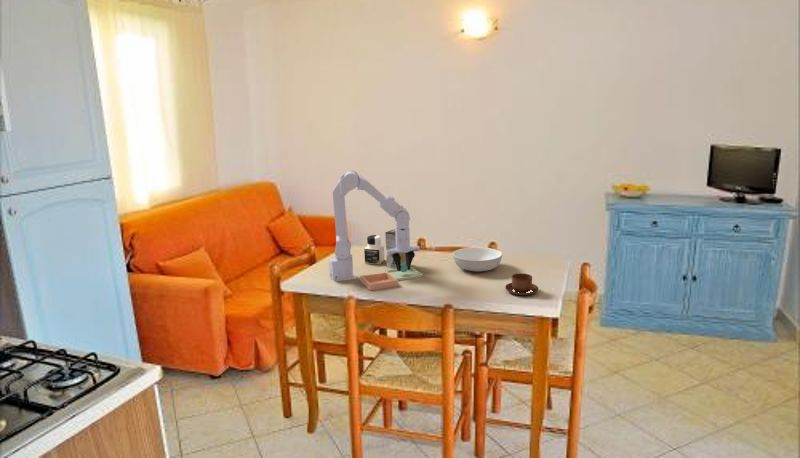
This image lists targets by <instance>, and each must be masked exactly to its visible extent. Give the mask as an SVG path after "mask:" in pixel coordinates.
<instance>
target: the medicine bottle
mask: <svg viewBox="0 0 800 458" xmlns="http://www.w3.org/2000/svg"><path fill="white" fill-rule="evenodd" d="M381 238H382V237H381V236H380V235H378V234H372V235H369V236H367V238H366V239H367V240H366V243H367V244H366V245H367V246H365V247H364V263H365V264H369V265H370V264H371V265H381V264H382V263H383V262H384V261H385V259H386V258H385V256H386V255H385V245H384V244H382V239H381Z"/></svg>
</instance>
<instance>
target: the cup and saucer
mask: <svg viewBox="0 0 800 458" xmlns="http://www.w3.org/2000/svg"><path fill="white" fill-rule="evenodd" d="M504 287H505V289H506V290H505V291H507V292H508V293H511V294H514V295H518V296H527V295H528V296H530V295H533V294H535V293H537V292H538V290H539V287H538V286H537V285H536V284H534V283H533V276H532V275H531V274H528V273H514V274H512V276H511V282H510V283H509V282H508V283H507V284H506V285H505V286H504ZM513 289H514V290H515V292H513V291H512V290H513ZM530 290H532V291H533V292H530V293H526V292H528V291H530ZM518 292H519V293H518Z"/></svg>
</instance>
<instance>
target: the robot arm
mask: <svg viewBox="0 0 800 458" xmlns="http://www.w3.org/2000/svg"><path fill="white" fill-rule="evenodd" d="M356 188H357V190H358V191H365V192H366V193H367V194H368V195H370V196H371V197H372V198H374V199H375V200H376V201H377V202H378V203H379V207H380V208H381V209H382V210H383V211H385V213H386V214H388V215H389V216H391V217H392V218H394V220H395V227H394V229H395V233H396V248H393V249H389V250H386V249H385V256H386V255H387V256H389V255H392V257H393V259H394V261H395V264H396V267H397V270H398V271H400V270H401V268H400V261H401V256H400V255H399V254H401V253H405V256H406V265H407V266H408V270H410V267H412V266H411V265H412V262H413V259H414V257H416V255H415V253H416V252H418V253H419V252H421V247H420V246H419V245H410V244H411V242H410V239H411V237H410V220H411V217H410V213H409V211H408V210H407V209H406V208H405V207H404V206H403V205H401V204H399V202H397V201H395V199H396V198H394V196H392V197H391V196H390V195H384V194H383V193H382V192H381V191H380V190H379V189H377V188H376V187H375V186H374V184H372V183H371V182H369V180H367V179H366V178H365V177H363V176H362V175H360V174H358V172H356V171H355V170H348V171H346V172H345V173H344V174H342V175H341V176H340V179H339V180H338V182H337V184H336V185H335V187H334V188H333V191H332V200H333V214H334V224H335V237H336V238H335V241H336V242H335V243H336V244H335V249H334V254H335V255H334V257H333V258H331V259H329V260H328V270H329V271H328V272H329V278H330V279H331V280H332V281H333V282H334V283H336V282H341V281H343V282H344V281H349V280H350V281H351V280H356V279H357V277H356V276H355V275H354V268H353V267H354V266H353V265H354V264H353V262H354V261H353V255H352V254H351V249H352V243H351V241H350V240H349V234H348V223H347V209H346V200H345V196H346V195H348V194H349V193H350V191H353V190H354V189H356Z"/></svg>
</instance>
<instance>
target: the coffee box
mask: <svg viewBox="0 0 800 458" xmlns="http://www.w3.org/2000/svg"><path fill="white" fill-rule="evenodd" d="M393 248H396V233H395V228H394V229H391V230H389V231H385V251H386V250H389V249H393ZM399 255H400V256H401V261H400V265H401V264H406V256H405V253H401V254H399ZM385 256H386V258H385V259H386V267H387V268H390V269H391V268H392V269H397V267H396V264H395V261H394V259H393V257H392V255H389V256H387V255H386V254H385Z"/></svg>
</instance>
